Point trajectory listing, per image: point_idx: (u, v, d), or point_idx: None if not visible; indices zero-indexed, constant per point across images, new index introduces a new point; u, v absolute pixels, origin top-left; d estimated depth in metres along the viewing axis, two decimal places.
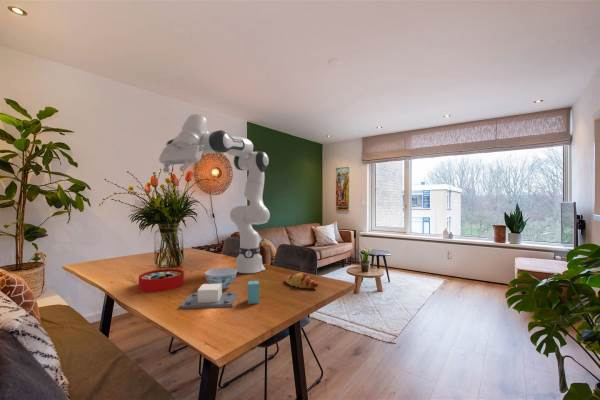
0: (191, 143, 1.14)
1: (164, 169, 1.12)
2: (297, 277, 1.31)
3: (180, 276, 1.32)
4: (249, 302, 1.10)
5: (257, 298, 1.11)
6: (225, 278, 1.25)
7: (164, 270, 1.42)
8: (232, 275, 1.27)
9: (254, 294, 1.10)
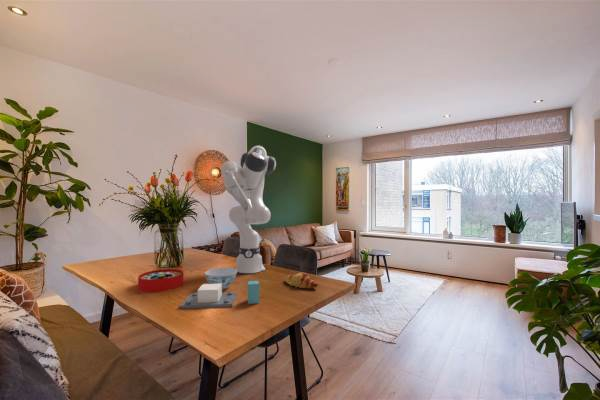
0: None
1: (245, 211, 1.13)
2: (297, 277, 1.31)
3: (180, 276, 1.32)
4: (249, 302, 1.10)
5: (257, 298, 1.11)
6: (225, 278, 1.25)
7: (164, 270, 1.42)
8: (232, 275, 1.27)
9: (254, 294, 1.10)
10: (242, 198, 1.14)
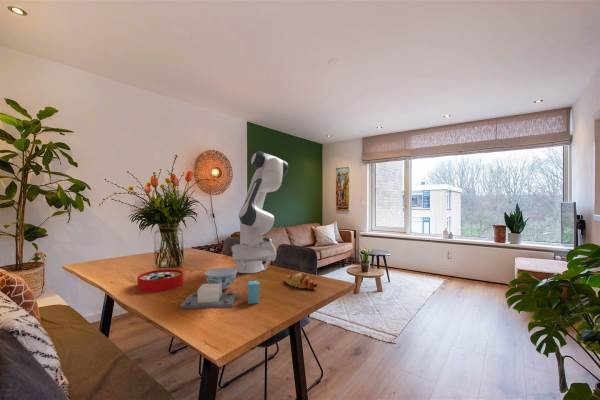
0: None
1: None
2: (296, 277, 1.31)
3: (179, 276, 1.32)
4: (249, 302, 1.10)
5: (257, 298, 1.11)
6: (225, 278, 1.25)
7: (163, 270, 1.42)
8: (232, 275, 1.27)
9: (254, 294, 1.10)
10: None
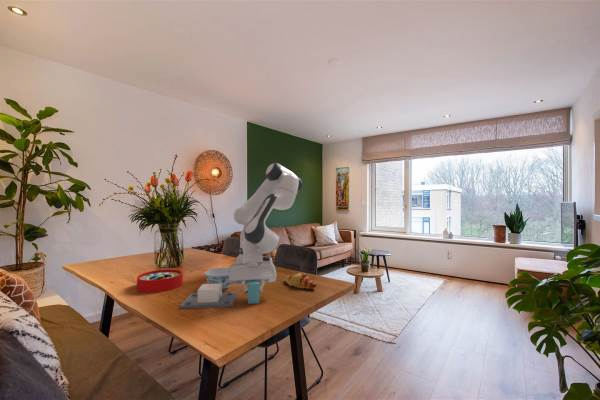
0: None
1: None
2: (296, 277, 1.30)
3: (179, 277, 1.31)
4: (249, 302, 1.10)
5: (257, 298, 1.11)
6: (225, 278, 1.25)
7: (163, 271, 1.41)
8: None
9: (254, 294, 1.10)
10: None
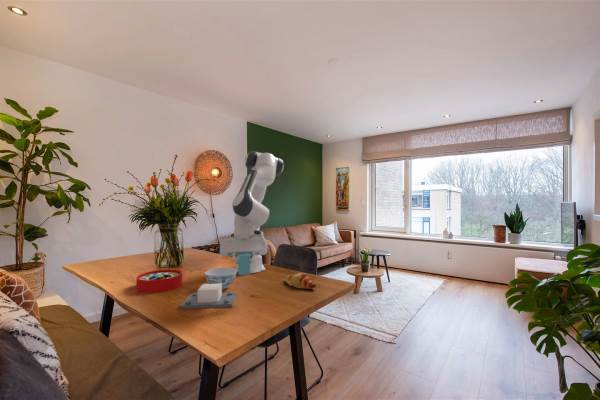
0: None
1: None
2: (296, 277, 1.30)
3: (178, 277, 1.31)
4: (240, 273, 1.10)
5: (248, 269, 1.11)
6: (225, 278, 1.25)
7: (162, 271, 1.41)
8: (232, 275, 1.27)
9: (244, 265, 1.10)
10: None
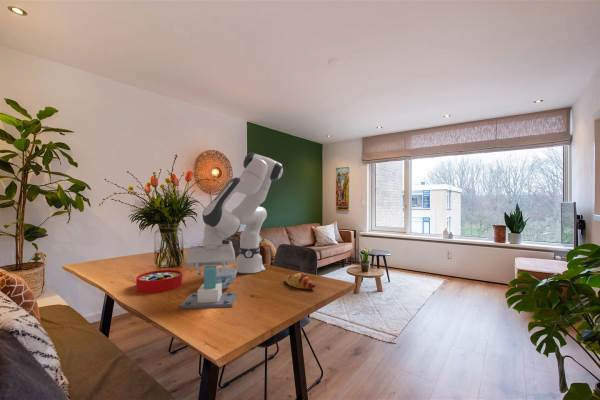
0: None
1: None
2: (295, 277, 1.30)
3: (178, 277, 1.31)
4: (205, 287, 1.10)
5: (213, 283, 1.10)
6: (225, 278, 1.25)
7: (162, 271, 1.41)
8: (232, 275, 1.27)
9: (209, 279, 1.10)
10: None
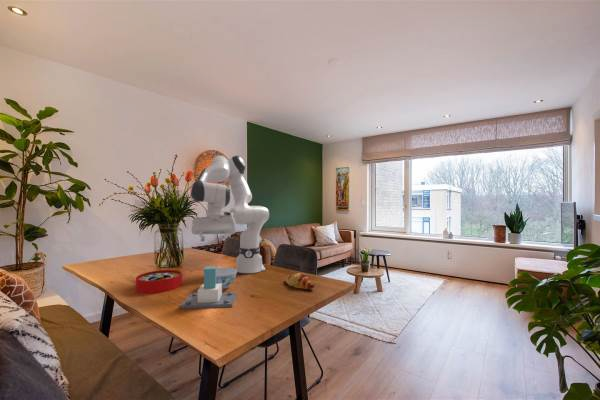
0: None
1: None
2: (295, 277, 1.30)
3: (178, 277, 1.30)
4: (205, 287, 1.10)
5: (213, 283, 1.10)
6: (225, 278, 1.25)
7: (161, 271, 1.40)
8: (232, 275, 1.27)
9: (209, 279, 1.10)
10: None
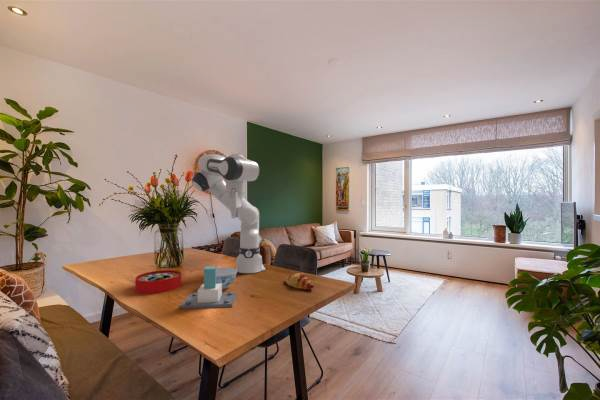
0: None
1: None
2: (294, 277, 1.30)
3: (178, 277, 1.30)
4: (205, 287, 1.10)
5: (213, 283, 1.10)
6: (225, 278, 1.25)
7: (161, 271, 1.40)
8: (232, 275, 1.27)
9: (209, 279, 1.10)
10: None
